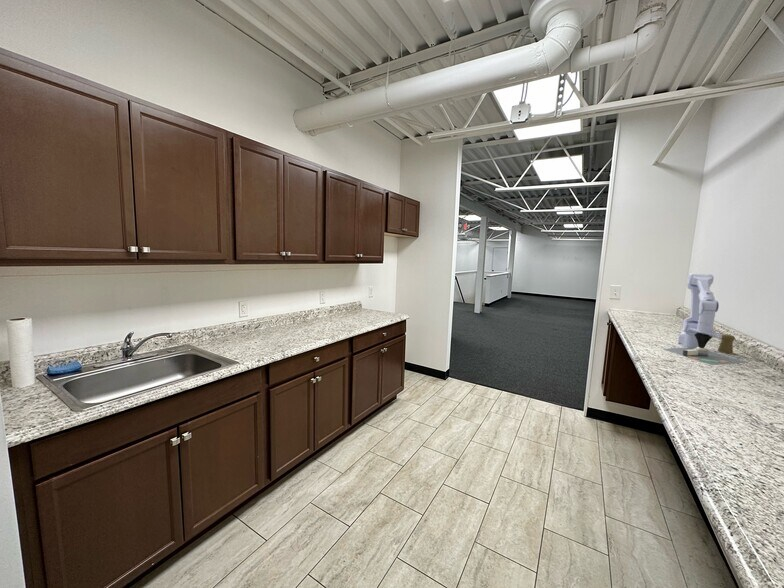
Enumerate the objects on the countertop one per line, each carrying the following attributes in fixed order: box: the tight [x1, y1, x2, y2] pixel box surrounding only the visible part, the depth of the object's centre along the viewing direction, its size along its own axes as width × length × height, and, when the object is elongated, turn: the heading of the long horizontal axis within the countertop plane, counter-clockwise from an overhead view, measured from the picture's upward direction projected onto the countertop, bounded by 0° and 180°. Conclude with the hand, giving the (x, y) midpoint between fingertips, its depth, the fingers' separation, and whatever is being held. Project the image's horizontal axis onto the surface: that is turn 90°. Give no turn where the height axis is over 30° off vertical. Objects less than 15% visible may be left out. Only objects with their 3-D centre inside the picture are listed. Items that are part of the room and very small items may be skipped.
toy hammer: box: [683, 347, 709, 356], centre depth 164 cm, size 14×6×4 cm, turn 100°
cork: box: [717, 333, 736, 354], centre depth 170 cm, size 6×6×11 cm
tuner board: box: [662, 347, 749, 366], centre depth 164 cm, size 24×23×1 cm
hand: (701, 347), depth 164 cm, fingers closed
